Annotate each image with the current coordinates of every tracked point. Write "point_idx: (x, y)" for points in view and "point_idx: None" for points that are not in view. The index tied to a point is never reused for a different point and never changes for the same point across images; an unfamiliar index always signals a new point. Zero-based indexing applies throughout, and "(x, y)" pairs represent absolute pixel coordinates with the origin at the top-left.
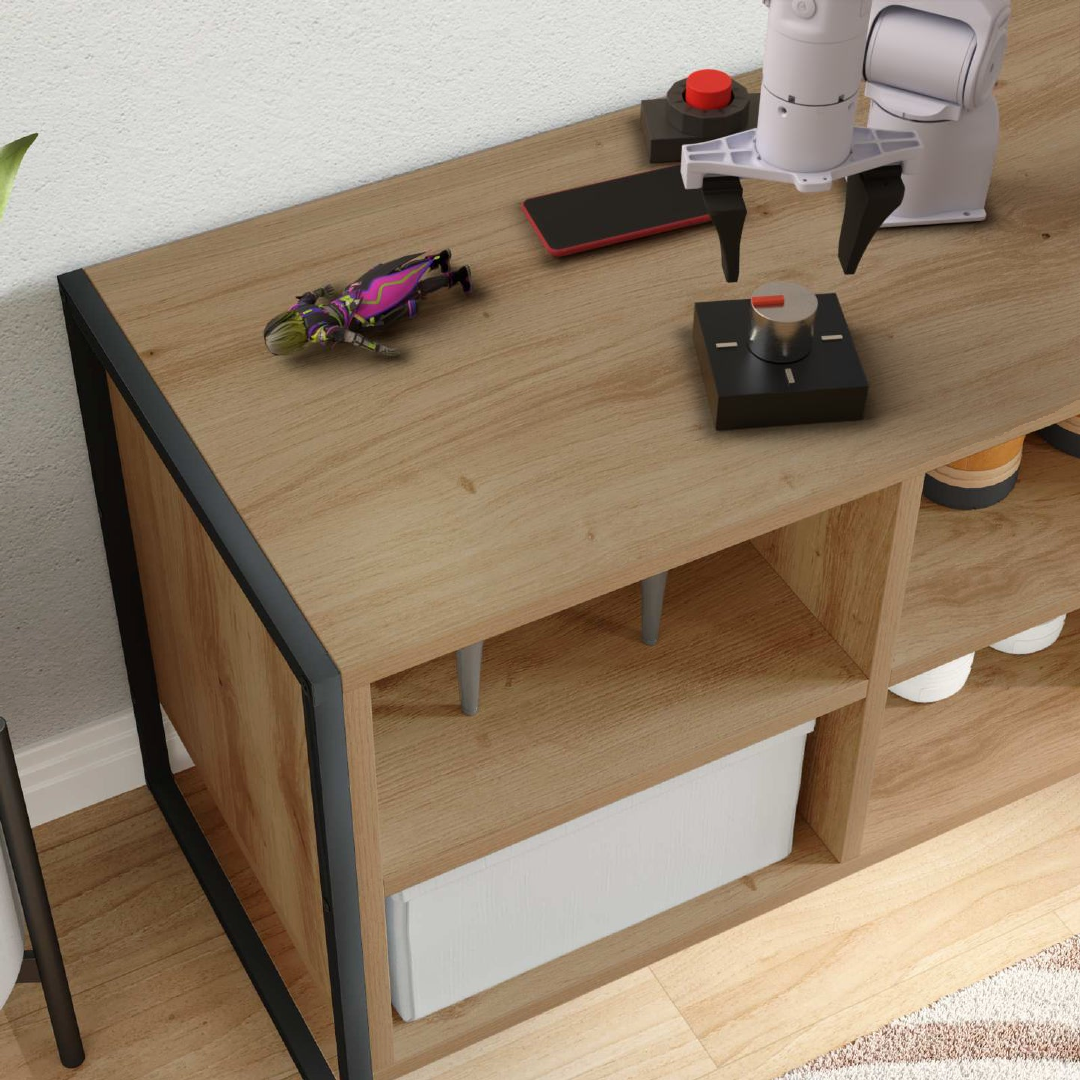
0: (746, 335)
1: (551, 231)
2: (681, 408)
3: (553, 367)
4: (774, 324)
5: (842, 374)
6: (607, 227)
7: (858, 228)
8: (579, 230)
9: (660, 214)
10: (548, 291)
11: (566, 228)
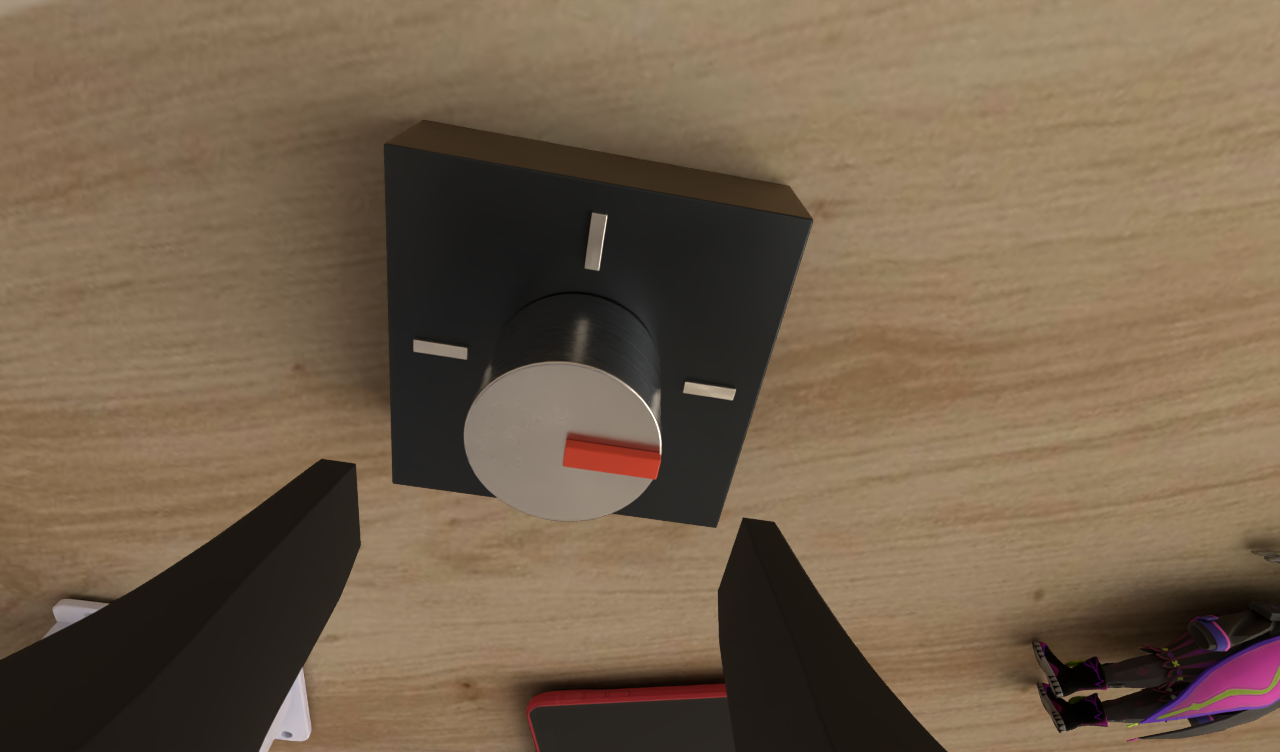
0: None
1: None
2: (828, 279)
3: (1009, 456)
4: (621, 373)
5: (448, 211)
6: None
7: (202, 633)
8: None
9: (651, 719)
10: (904, 618)
11: None
